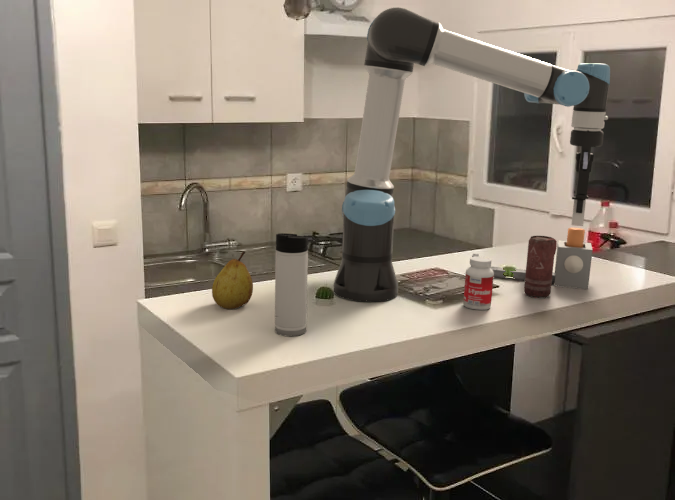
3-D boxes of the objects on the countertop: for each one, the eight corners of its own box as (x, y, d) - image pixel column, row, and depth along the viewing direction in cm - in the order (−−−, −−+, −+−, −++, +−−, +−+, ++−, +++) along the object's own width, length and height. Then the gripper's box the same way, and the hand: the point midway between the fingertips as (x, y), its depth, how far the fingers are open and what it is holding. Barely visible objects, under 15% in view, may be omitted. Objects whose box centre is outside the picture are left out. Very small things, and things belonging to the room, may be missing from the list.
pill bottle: (464, 309, 161) (467, 261, 159) (462, 301, 167) (465, 254, 165) (492, 311, 161) (496, 262, 158) (489, 303, 167) (493, 256, 164)
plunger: (565, 255, 182) (568, 230, 180) (565, 252, 186) (567, 227, 184) (582, 257, 181) (585, 231, 179) (581, 253, 185) (584, 228, 183)
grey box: (554, 286, 182) (558, 247, 180) (554, 277, 190) (557, 240, 187) (588, 289, 180) (592, 250, 178) (586, 280, 188) (590, 243, 185)
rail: (470, 274, 190) (471, 256, 189) (471, 272, 193) (473, 253, 192) (554, 283, 185) (556, 264, 184) (554, 280, 188) (556, 261, 186)
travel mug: (267, 332, 144) (267, 233, 139) (287, 323, 149) (289, 227, 144) (292, 339, 140) (294, 238, 136) (312, 330, 146) (314, 232, 141)
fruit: (207, 310, 156) (206, 256, 153) (219, 298, 164) (219, 246, 161) (246, 313, 154) (246, 258, 152) (257, 301, 163) (257, 248, 160)
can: (552, 299, 171) (558, 241, 168) (524, 297, 172) (529, 239, 169) (550, 292, 177) (556, 235, 173) (523, 290, 178) (528, 234, 175)
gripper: (606, 131, 169) (594, 231, 174) (602, 128, 181) (591, 221, 187) (572, 130, 171) (562, 229, 176) (570, 126, 183) (561, 219, 189)
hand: (577, 225), depth 182 cm, fingers closed
